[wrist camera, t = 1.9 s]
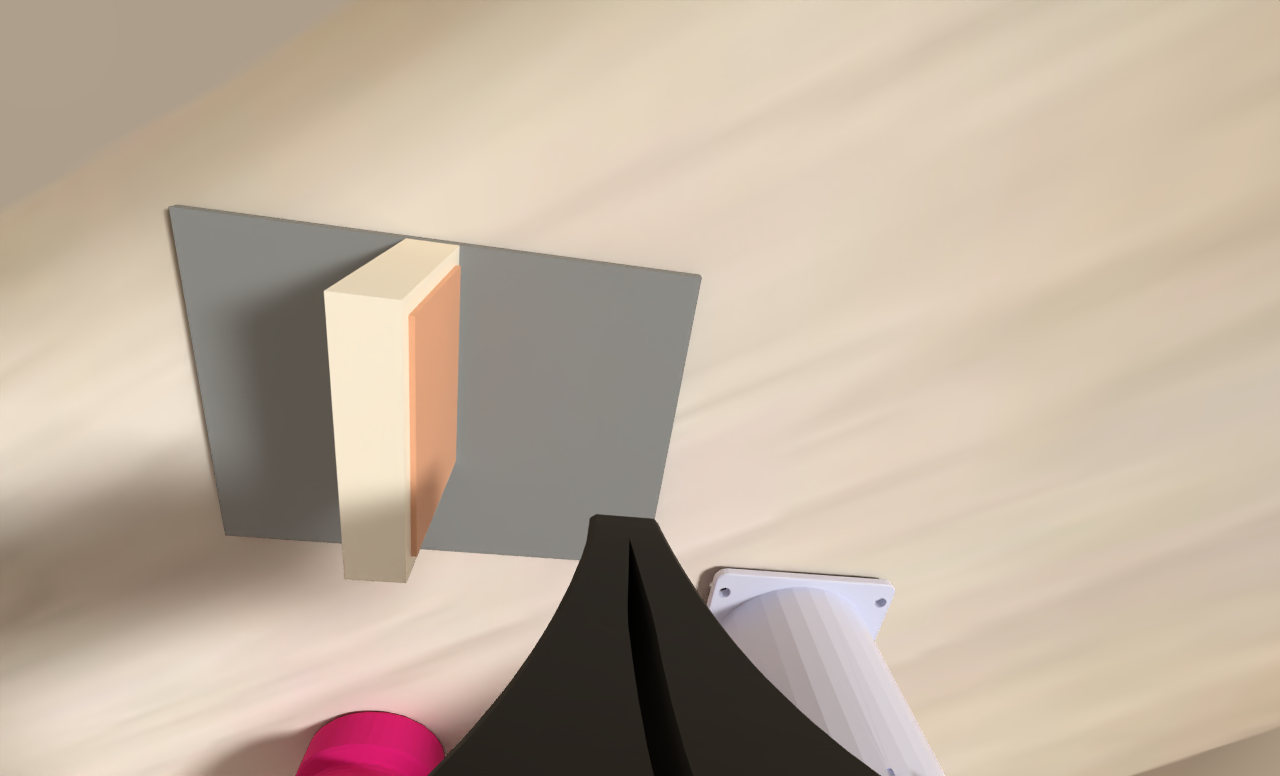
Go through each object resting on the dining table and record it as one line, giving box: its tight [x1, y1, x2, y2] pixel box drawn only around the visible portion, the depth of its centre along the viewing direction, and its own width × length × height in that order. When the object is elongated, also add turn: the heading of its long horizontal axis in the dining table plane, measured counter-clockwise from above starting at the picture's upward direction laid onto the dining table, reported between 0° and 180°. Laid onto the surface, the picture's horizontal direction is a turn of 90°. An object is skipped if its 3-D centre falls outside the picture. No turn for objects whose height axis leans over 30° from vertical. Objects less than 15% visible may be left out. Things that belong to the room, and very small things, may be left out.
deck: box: [324, 238, 461, 583], centre depth 17 cm, size 8×2×6 cm, turn 171°
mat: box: [169, 205, 702, 560], centre depth 21 cm, size 12×16×1 cm
